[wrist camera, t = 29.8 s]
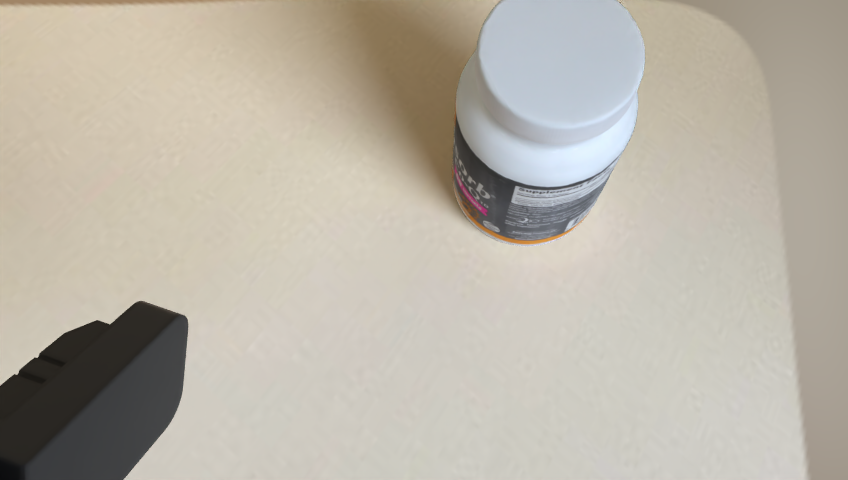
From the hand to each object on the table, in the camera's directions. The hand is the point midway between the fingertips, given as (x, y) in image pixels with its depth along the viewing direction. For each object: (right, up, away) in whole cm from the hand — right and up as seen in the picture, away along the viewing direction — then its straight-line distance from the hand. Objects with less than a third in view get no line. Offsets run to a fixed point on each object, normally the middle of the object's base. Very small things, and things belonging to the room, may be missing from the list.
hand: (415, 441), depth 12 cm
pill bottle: (+4, +5, +19) cm, 20 cm away
